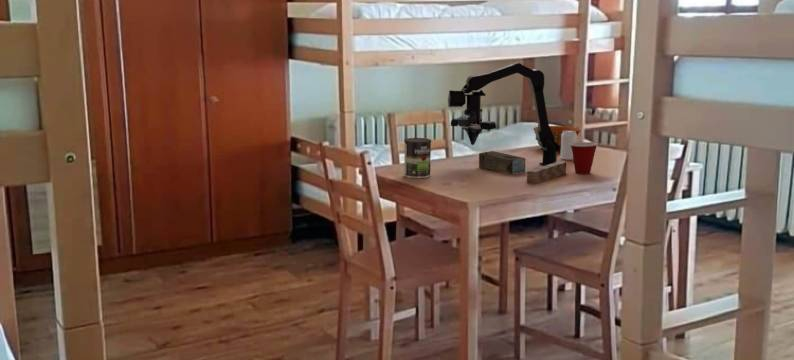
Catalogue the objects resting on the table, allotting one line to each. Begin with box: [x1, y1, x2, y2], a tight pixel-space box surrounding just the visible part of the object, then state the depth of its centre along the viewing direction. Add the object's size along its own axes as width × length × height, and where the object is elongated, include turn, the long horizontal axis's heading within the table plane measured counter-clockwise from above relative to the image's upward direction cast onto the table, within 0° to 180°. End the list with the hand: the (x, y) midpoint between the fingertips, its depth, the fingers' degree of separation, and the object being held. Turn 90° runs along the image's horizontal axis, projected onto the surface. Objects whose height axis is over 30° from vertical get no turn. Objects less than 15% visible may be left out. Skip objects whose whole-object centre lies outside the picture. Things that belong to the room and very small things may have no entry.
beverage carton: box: [478, 150, 527, 175], centre depth 327 cm, size 8×19×7 cm, turn 39°
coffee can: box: [403, 137, 432, 179], centre depth 313 cm, size 10×10×14 cm
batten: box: [526, 160, 567, 185], centre depth 311 cm, size 26×3×4 cm, turn 142°
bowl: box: [533, 125, 581, 151], centre depth 373 cm, size 21×21×10 cm
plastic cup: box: [570, 141, 599, 175], centre depth 321 cm, size 11×11×12 cm
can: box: [560, 130, 578, 161], centre depth 350 cm, size 6×6×12 cm
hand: (472, 144), depth 334 cm, fingers closed
